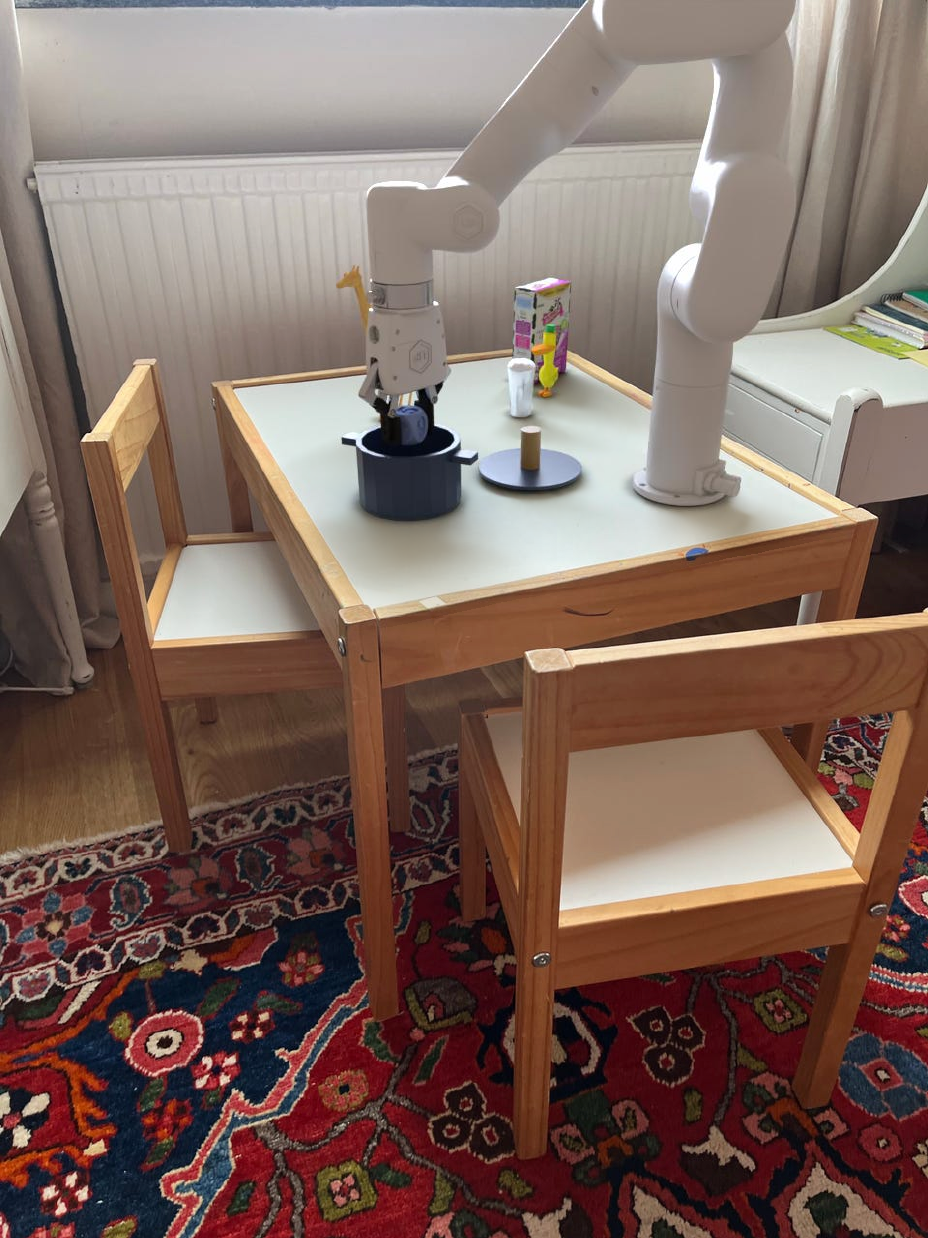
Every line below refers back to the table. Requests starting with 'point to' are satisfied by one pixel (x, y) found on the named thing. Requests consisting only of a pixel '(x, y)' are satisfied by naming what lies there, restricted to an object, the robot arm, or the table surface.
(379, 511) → the blue cooking pot
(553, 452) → the lid
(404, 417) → the decorative dice
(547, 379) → the toy figure
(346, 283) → the giraffe
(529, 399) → the milkshake
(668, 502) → the robot arm
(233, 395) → the table surface
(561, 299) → the candy bar box
